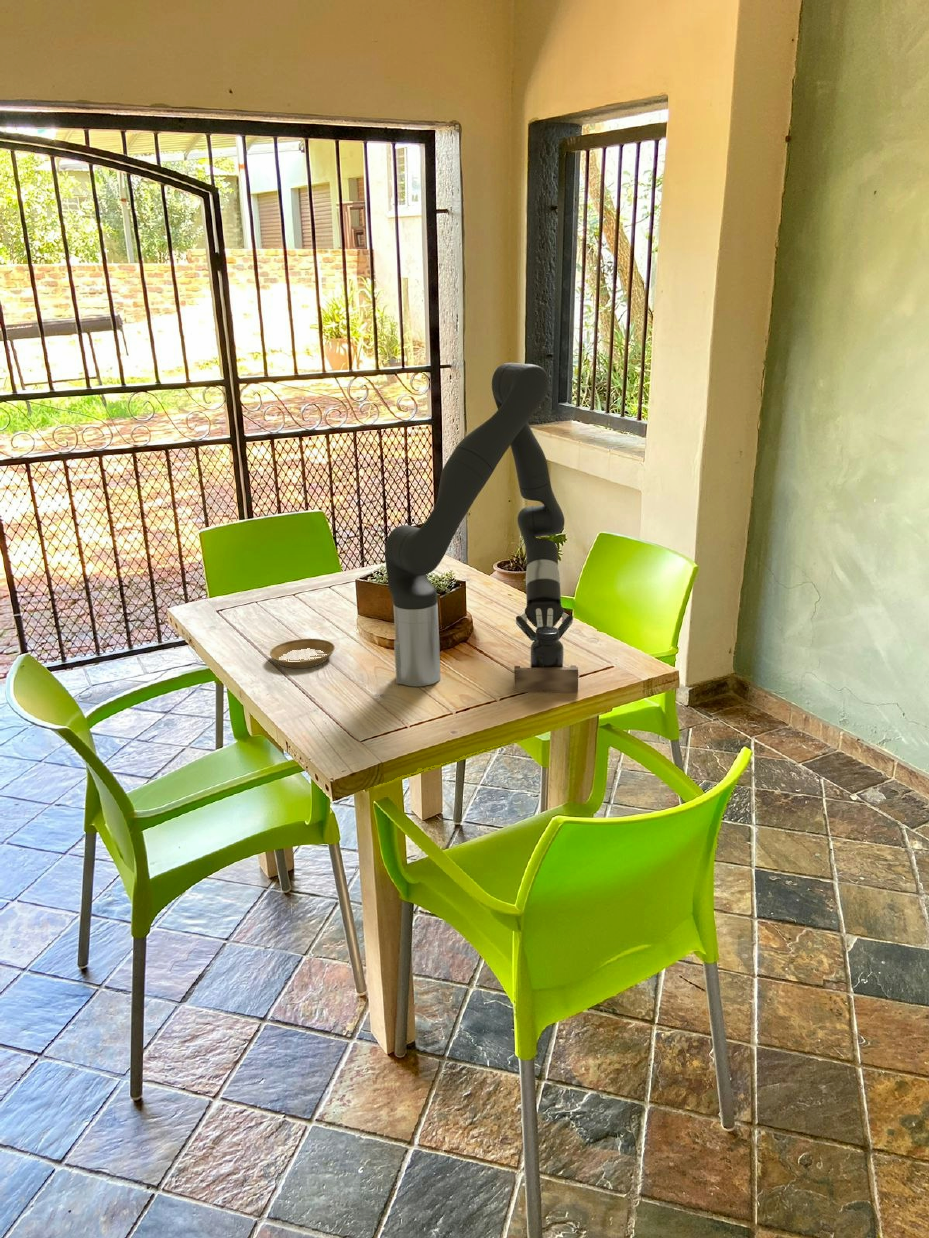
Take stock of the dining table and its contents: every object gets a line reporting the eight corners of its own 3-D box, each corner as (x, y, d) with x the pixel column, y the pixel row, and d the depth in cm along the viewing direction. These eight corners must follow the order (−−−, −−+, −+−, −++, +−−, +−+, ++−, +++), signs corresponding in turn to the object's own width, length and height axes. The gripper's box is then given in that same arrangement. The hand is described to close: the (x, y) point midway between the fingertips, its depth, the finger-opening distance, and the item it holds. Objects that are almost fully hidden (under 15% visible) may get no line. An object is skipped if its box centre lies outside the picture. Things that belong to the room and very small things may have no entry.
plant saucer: (257, 666, 203) (256, 655, 202) (297, 644, 215) (296, 634, 214) (309, 676, 196) (308, 665, 195) (348, 654, 209) (347, 643, 208)
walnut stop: (514, 692, 184) (514, 670, 183) (514, 681, 190) (514, 659, 188) (578, 691, 184) (578, 669, 182) (576, 680, 189) (576, 658, 187)
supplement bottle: (536, 691, 184) (536, 637, 180) (526, 679, 191) (525, 626, 187) (567, 687, 186) (568, 633, 182) (556, 675, 192) (556, 622, 188)
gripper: (512, 577, 195) (514, 651, 187) (574, 576, 194) (577, 650, 187) (513, 593, 201) (514, 664, 194) (572, 591, 201) (575, 663, 193)
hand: (545, 657), depth 190 cm, fingers closed
